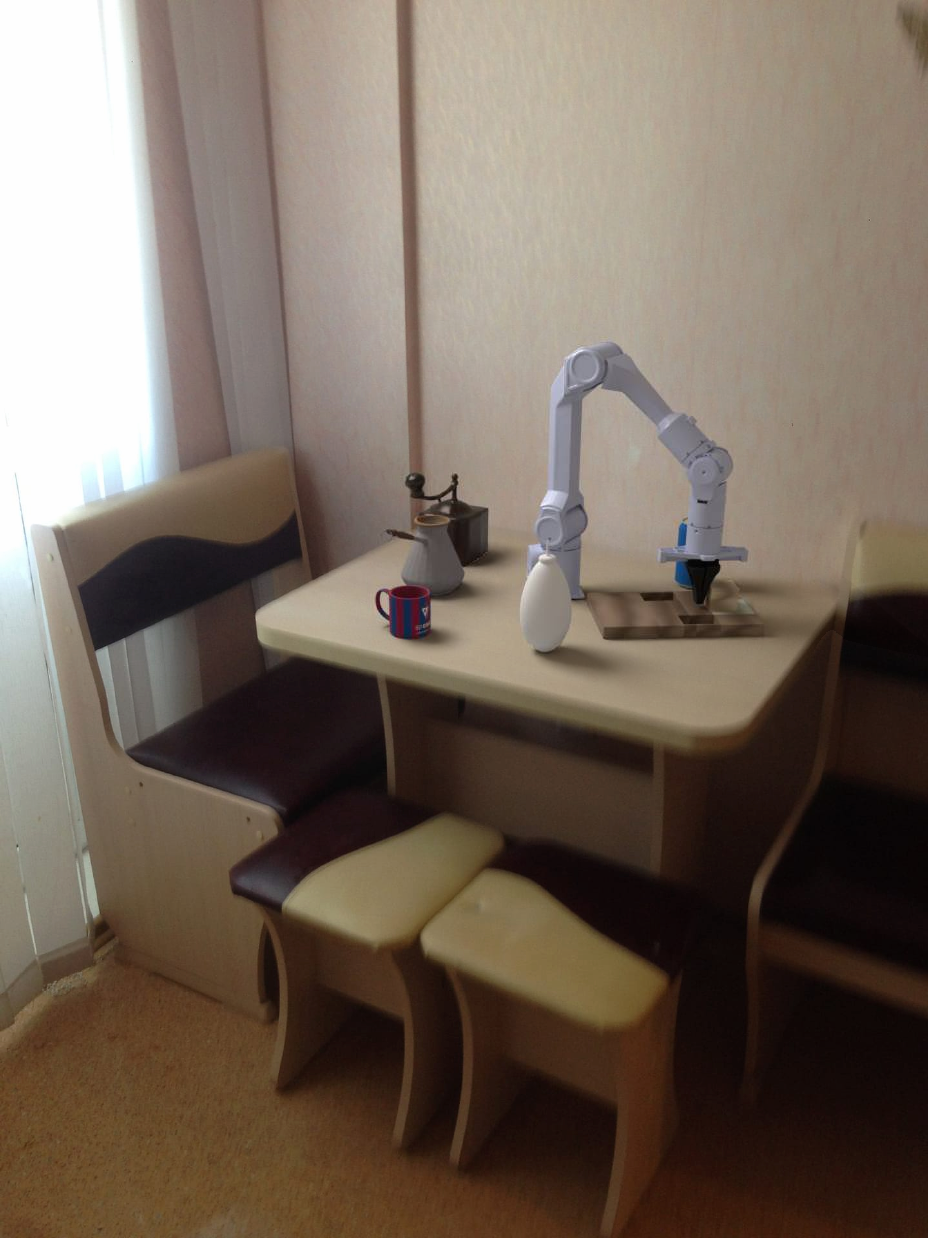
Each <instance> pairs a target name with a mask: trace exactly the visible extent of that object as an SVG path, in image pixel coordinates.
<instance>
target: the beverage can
mask: <svg viewBox="0 0 928 1238" xmlns="http://www.w3.org/2000/svg"><path fill="white" fill-rule="evenodd" d="M687 523H688V516H687V517H684V518H682V520H681V523H680V524H679V526H678V534H677V546H676V547H678V546H685V545H686V535H687ZM674 573H675V574H674V581H675V582H676V583H677V584H678V585H679V586H680V587H682V588H685V589H690V590H692V585H691V581H690V578H689V574H688V572H687V569H686V566H685V564H684V561H677V562H675V572H674Z"/></svg>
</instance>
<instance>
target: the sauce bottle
mask: <svg viewBox="0 0 928 1238" xmlns="http://www.w3.org/2000/svg"><path fill="white" fill-rule="evenodd" d="M519 605H520V606H519V619H520V620H519V621H520V627H521V631H522V634H523V636H524V638H525V640H526V641H527V643H528V644H529V645H531V646H532V647H533V649H535V650H538V651H539V652H542V653H547V652H548V653H549V652H551V651H553V650H555V649H556V648H557V647H559V646H560V645H561V644H562V643H563V642H564V639H565V638H566V636H567V634H568V631H569V629H570V625H571V622H572V614H573V612H572V610H573V609H572V599H571V595H570V590H569V586H568V583H567V580H566V577H565V575H564V573H563V571H562V569H561V567H560V566H559V565H558V563H557V562H556V557H555V556H554V555H551V554H549V539H548V540H547V547H546V554H543V555H541V556H540V557H539V562H538V563H537V564H536V565H535V566H534V568H533V569H532V571H531V573H530V575H529V577H528V579H527V581H526V580H525V584H524V586H523V591H522V594H521V598H520V604H519Z"/></svg>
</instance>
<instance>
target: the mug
mask: <svg viewBox="0 0 928 1238" xmlns="http://www.w3.org/2000/svg"><path fill="white" fill-rule="evenodd" d="M382 593H385V594H387V595H388V613H389V614H388V613H387V612H386V611H384V609H383V607H382V604H381V594H382ZM431 597H432V596H431V591H430V590H429V589H428V588H426V587H422V586H417V585H406V584H405V585H398V586H396V587H395V586H394V587H393V588H391V589H388V588H380V589H379V590H377V592H376V593H375V598H374V599H375V601H374V602H375V606H376V610H377V612H378V613H379V614H380V616H382V617H383V618H384V619H385V620H386V621H389V624H388V625H389V634H391V635H392V636H394V637H395V638H398V639H406V640H407V639H408V640H410V639H411V640H413V639H421V638H424V637H426V636H428V635H429V634H430V633H431V632H432V622H431V621H432V620H431V618H432V616H431V615H432V614H431V613H432V612H431V611H432V610H431V609H432V608H431V607H432V605H431V604H432V603H431V599H432V598H431Z"/></svg>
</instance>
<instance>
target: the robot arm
mask: <svg viewBox="0 0 928 1238" xmlns="http://www.w3.org/2000/svg"><path fill="white" fill-rule="evenodd" d="M600 385H601V386H600ZM599 386H600V389H601V390H607V391H613V392H620V393H623V394H624V395H625V396H626V397H627V398H628V400H630V401H631V402H632V403H633V404H634V405H635V406H636V407H637V408H638V410H640V411H641V412H642V414H644V415H645V416H646V418H648V419H649V420H650V421H651V422H652V423H654V425H655V426H656V428H657V431H656V433H657V439H658V440H659V441H660V442H661V444H663V446H664V447H666V449H667V450H668V451H669V452H670V453H671V454H672V455H673V457H674V458H675V459H676V460H677V461H678V462H679V463H680V464H681V465H682V466H683V467H684V468H685V469H686V471H685V473H686V474H685V475H686V478H687V480H688V483H689V484H690V491H689V492H690V494H689V499H688V500H689V501H688V515H687V517H688V523H687V535H686V545H685V546H678V547H677V546H672V547H664V548H663V547H662V548H661V547H658V549H657V557H656V559H657V561H658V562H659V564H666V563H669V562H672V563H673V562H675V563H676V562H677V561H684V564H685V566H686V569H687V572H688V574H689V578H690V581H691V585H692V589H691V591H693V601H694V602H695V603H696V604H704V601H705V597H706V595H707V592H708V590H709V587H710V585H711V583H712V582H713V580H715V579H716V577H717V576H718V574H719V573H720V571H721V567H722V565H721V564H720V562H721V561H722V562H725V561H726V562H727V561H728V562H732V561H734V562H735V561H736V562H737V561H738V562H739V561H740V563H741V562H742V563H746V562H748V560H749V558H748V556H749V550H748V549H747V548H746V547H745V546H730V545H729V546H728V545H723V544H722V543H723V534H724V532H723V531H724V524H725V521H724V520H725V514H726V513H725V512H726V503H727V496H726V494H727V485H728V481H727V480H728V478H729V477H730V476H731V474H732V472H733V468H734V461H733V458H732V456H731V455H730V453H729V451H728V450H727V448H725V447H722V446H718V445H717V443H716V442H715V441H714V440H713V439H712V440H710V439H709V438H708V437H707V436H706V434H705V433H704V432H703V431H702V430H701V429H700V428H699V427H698V426H697V425H696V423H697V422H698V420H697V419H696V418H695V417H694V416H692V415H691V416H688V415H687V414H686V413H684V412H675V411H673V409H672V408H671V407H670V406H669V405H668V403H667V402H666V400H664V399H663V398H662V396H661V395H660V394H659V393H658V391H656V389H655V388H654V386H653V385H652V384H651V383H650V382H649V380H647V378H646V377H645V376H644V374H643V373H642V372H641V371H640V369H639V368H638V367H637V365H636V364H635V362H634V360H633V358H632V357H631V356H630V355H628V354H627V353H625V352H624V351H623V348H621V346H620V345H619V344H617V343H615V342H614V341H609V340H605V341H601V342H599V343H597V344H593V345H590V346H581V347H580V348H578V349H576V350H574V351H573V352H572V353H570V354H569V355H568V356H566V357H565V358H564V361H563V366H562V368H561V369H560V370H559V373H558V374H557V375H556V377H555V379H554V382H553V383H552V385H551V388H550V400H549V401H550V403H549V407H550V408H549V434H548V435H549V439H548V440H549V441H548V469H547V470H548V472H547V491H546V494H545V496H544V498H543V499H542V502H541V503H540V506H539V515H538V517H537V519H536V521H535V523H534V529H533V530H534V534H535V535H534V536H535V537H536V539H537V541H538V543H535V544H529V545H528V546H527V551H526V552H527V555H526V556H527V557H526V576H525V582H526V581H527V579H528V577H529V575H530V573H531V571H532V569H533V568H534V566H535V565H536V564H537V563H538V562H539V557H540V556H541V555H543V554H546V547H547V540H548V539H549V554H551V555H554V556H555V557H556V562H557V563H558V565H559V566H560V567H561V569H562V571H563V573H564V575H565V577H566V580H567V583H568V586H569V590H570V595H571V600H572V599H573V600H575V599H580V600H581V599H585V594H584V592H583V590H582V588H581V586H580V583H581V579H580V578H581V558H582V534H584V532H585V531H586V530H587V528H588V525H589V516H588V513H587V511H586V509H585V497H584V495H583V494H582V492H581V491H580V473H581V472H580V469H581V446H582V444H581V443H582V424H583V423H582V422H583V421H582V419H583V417H582V416H583V400H584V399H585V398H586V397H587V396H588V395H589V394H590V393H591V392H592V391H594V390H595V389H596V388H597V387H599Z"/></svg>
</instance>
